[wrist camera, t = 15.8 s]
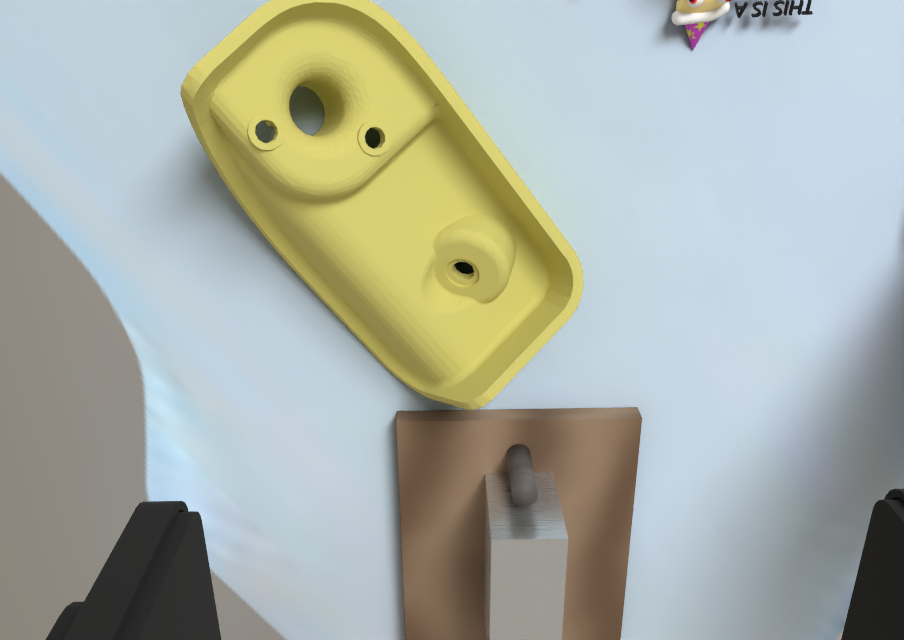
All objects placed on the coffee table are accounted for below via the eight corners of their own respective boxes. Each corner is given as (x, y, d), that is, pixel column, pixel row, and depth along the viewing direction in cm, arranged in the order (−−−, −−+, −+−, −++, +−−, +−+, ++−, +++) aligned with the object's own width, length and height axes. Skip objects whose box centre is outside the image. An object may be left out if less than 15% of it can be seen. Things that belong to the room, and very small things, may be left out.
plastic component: (600, 285, 42) (462, 430, 40) (529, 269, 49) (408, 392, 47) (341, -64, 34) (153, 98, 32) (299, -25, 41) (142, 110, 39)
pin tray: (637, 407, 47) (659, 457, 43) (615, 640, 55) (631, 705, 50) (397, 411, 47) (392, 461, 43) (406, 644, 55) (403, 709, 50)
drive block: (553, 472, 48) (568, 538, 42) (546, 604, 52) (559, 680, 46) (485, 473, 48) (491, 539, 42) (483, 605, 52) (489, 681, 46)
